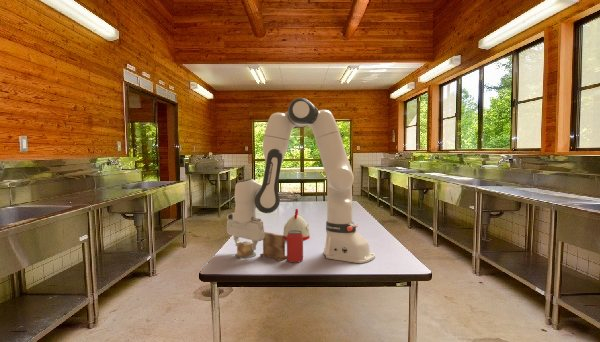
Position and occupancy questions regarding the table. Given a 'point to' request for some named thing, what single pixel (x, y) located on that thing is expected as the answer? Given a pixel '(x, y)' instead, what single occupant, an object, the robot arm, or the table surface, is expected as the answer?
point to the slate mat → (245, 257)
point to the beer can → (294, 246)
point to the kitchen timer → (297, 226)
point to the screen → (274, 246)
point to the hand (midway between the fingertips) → (245, 248)
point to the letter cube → (244, 249)
